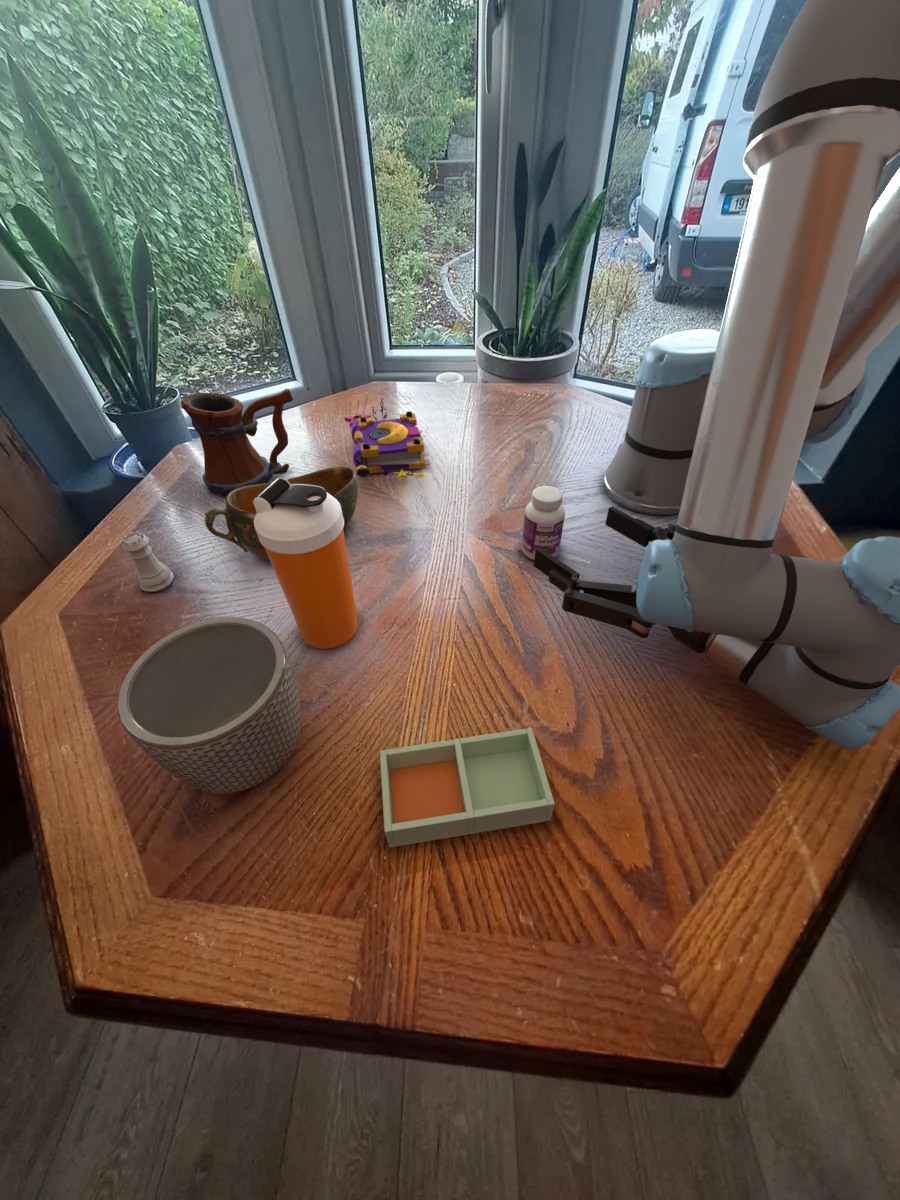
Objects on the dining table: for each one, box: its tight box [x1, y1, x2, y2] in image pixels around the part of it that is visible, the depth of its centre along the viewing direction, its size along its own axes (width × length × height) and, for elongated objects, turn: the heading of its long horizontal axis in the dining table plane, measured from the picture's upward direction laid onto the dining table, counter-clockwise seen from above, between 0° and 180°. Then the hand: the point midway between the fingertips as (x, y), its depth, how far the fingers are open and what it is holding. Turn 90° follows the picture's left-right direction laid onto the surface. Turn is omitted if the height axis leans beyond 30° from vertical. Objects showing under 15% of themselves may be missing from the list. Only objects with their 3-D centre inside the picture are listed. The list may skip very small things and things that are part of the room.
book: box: [343, 397, 427, 482], centre depth 92 cm, size 14×25×12 cm, turn 10°
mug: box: [179, 388, 294, 498], centre depth 87 cm, size 18×12×15 cm, turn 107°
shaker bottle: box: [253, 477, 359, 650], centre depth 58 cm, size 9×9×20 cm
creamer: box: [204, 466, 359, 564], centre depth 75 cm, size 13×20×10 cm, turn 99°
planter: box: [116, 616, 303, 795], centre depth 49 cm, size 14×14×13 cm
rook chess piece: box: [121, 531, 175, 593], centre depth 70 cm, size 4×4×8 cm
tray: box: [379, 727, 556, 849], centre depth 48 cm, size 15×8×4 cm, turn 99°
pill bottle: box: [521, 485, 566, 561], centre depth 72 cm, size 5×5×10 cm
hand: (573, 535), depth 68 cm, fingers open, 13 cm apart
